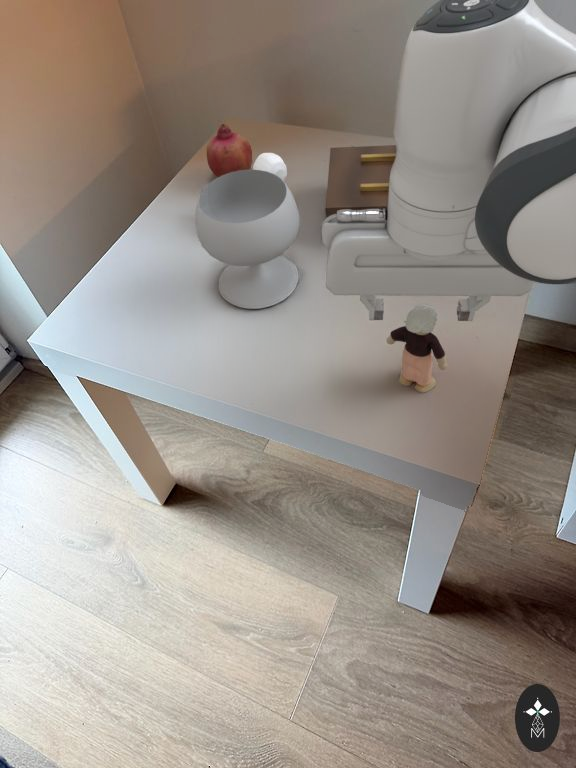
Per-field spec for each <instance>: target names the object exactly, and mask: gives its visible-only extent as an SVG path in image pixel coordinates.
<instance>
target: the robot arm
mask: <svg viewBox="0 0 576 768" xmlns="http://www.w3.org/2000/svg"><path fill="white" fill-rule="evenodd" d="M397 82H398V83H397V89H396V96H395V106H394V116H393V132H392V133H393V138H394V139H393V140H394V142H395V145H396V150H397V152H396V158H395V161H394V163H393V165H392V168H391V172H390V180H389V193H388V204H387V208H386V209H366V210H365V209H364V210H357V211H356V210H351V209H343V210H338V211H337V214H333V215H331V216H329V217H327V218H326V217H325V219H324V220H323V221H322V223H321V226H320V235H321V242H322V245H323V246H324V248H325V249H326V250H327V257H326V258H327V260H326V269H325V272H326V273H325V288H326V289H327V290H328V291H329V292H330V293H331V294H332V295H334V296H359V301H360V302H361V303H362V304H363V305H364V306H365V308H366V309H367V310H368V311H369V316H368V317H369V321H383V320H384V312H385V311H384V309H385V307H384V298H376V296H390V297H391V296H402V297H403V296H405V297H407V296H410V297H411V296H413V297H414V296H415V297H416V296H417V297H419V296H421V297H422V296H423V297H426V296H427V297H428V296H429V297H433V296H434V297H440V296H441V297H467V298H459V299H458V303H457V304H458V306H456V316H457V321H458V322H473V320H474V317H475V313H476V312H477V311H479V310H480V309H481V308H483V307H484V306H485V305H487V304H488V303H490V301H491V298H492V297H521V296H524V295H526V294H527V293H529V292H530V291H532V290H533V289H534V287H535V285H536V283H538V284H544V285H570V284H576V33H574V32H572V31H571V30H568V29H567V28H566V27H564V26H562V25H561V24H559V23H558V22H556V21H555V20H553V19H552V18H551V17H549V16H548V15H547V14H546V13H545V12H544V11H543V10H542V9H541V8H540V7H539V6H538V4H537V3H536V1H535V0H438V1H436V2H435V3H434V4H433V5H432V6H430V7H429V8H428V9H427V10H426V11H425V12H424V13H423V14H422V15H421V16H420V17H419V19H418V20H416V22H415V24H414V25H413V26H412V29H411V30H410V32H409V35H408V38H407V40H406V43H405V45H404V51H403V55H402V59H401V65H400V69H399V75H398V81H397ZM336 218H337V219H336Z"/></svg>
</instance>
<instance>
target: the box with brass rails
mask: <svg viewBox="0 0 576 768" xmlns="http://www.w3.org/2000/svg"><path fill="white" fill-rule="evenodd" d="M396 152H397V150H396V144H391V145H388V144H387V145H365V146H364V145H363V146H342V147H341V146H340V147H330V149H329V161H328V176H327V187H326V199H325V200H326V201H325V219H326V218H327V217H329V216H331V215H333V214H337V211H338V210H343V209H351V210H356V211H357V210H364V209H365V210H366V209H386V208H387V204H388V193H389V180H390V172H391V168H392V165H393V163H394V161H395V158H396ZM336 219H337V218H336Z"/></svg>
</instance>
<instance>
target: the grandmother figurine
mask: <svg viewBox="0 0 576 768" xmlns="http://www.w3.org/2000/svg"><path fill="white" fill-rule="evenodd" d="M437 317H438V314H437V311H436V309H435V308H434V307H433V306H431V305H429V304H426V303H421V304H418V305H416V306H414V307H413V308H412V309H411V310H410V311H408V313H407V316H406V319H405V320H404V321H403V322H404V323H405V325H404V326H400V327H397V328H396V329H393V330H391V332H390V333H389V334H390V335H389V336H388V337H387V338H386V343H387V344H388V345H394V344H395V343H396V342H402V343H405V344H404V346H403V350H402V355H401V373H400V376H399V379H398V382H399V384H400V385H402V386H405V387H409V386H411V385H412V384H413V383H415V382H416V384H414V385H415V386H414V389H415V390H416V391H417V392H418V393H421V394H424V393H426V392H428V391H430V390H431V389H433V388H434V387H436V383H437V382H436V380H435V378H434V377H433V376H432V368H433V356H434V358H435V360H436V363H437V367H438V369H439V370H441V371H444V370H446V369H447V368H448V362H447V357H446V352H445V350H444V348H443V346H442V345H441V342H440V341H439V339H438V337H437V336H436V335H435V334H434V333H433V330H434V329H435V326H436V324H437V321H438V318H437Z"/></svg>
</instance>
